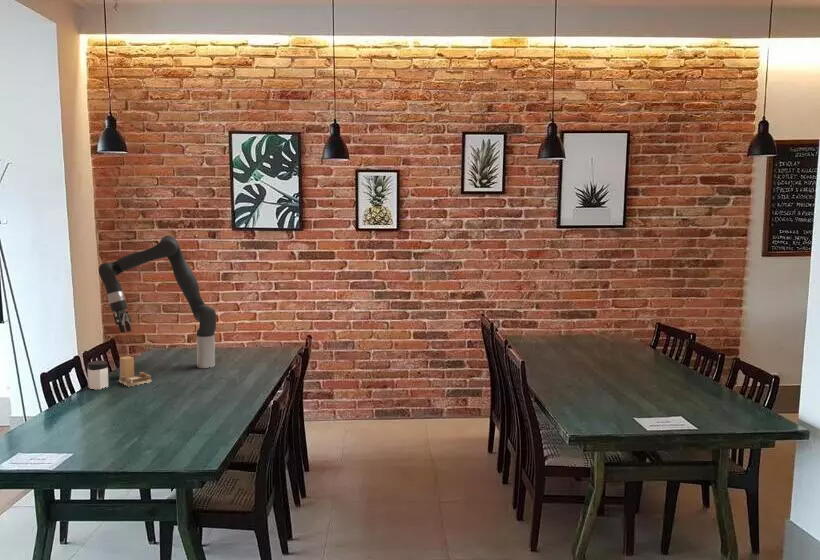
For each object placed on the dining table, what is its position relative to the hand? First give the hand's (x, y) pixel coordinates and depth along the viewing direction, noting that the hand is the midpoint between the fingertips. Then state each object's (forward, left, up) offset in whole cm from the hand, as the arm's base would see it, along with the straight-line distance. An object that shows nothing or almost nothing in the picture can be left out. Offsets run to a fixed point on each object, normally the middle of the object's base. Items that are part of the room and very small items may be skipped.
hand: (126, 331), depth 296 cm
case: (+2, +1, -23) cm, 23 cm away
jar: (+20, -5, -23) cm, 31 cm away
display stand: (+12, +9, -23) cm, 27 cm away
